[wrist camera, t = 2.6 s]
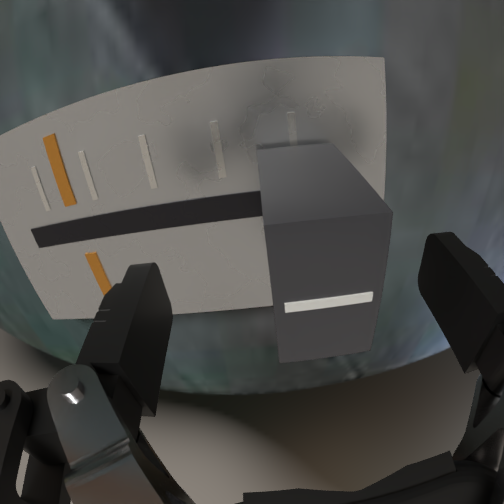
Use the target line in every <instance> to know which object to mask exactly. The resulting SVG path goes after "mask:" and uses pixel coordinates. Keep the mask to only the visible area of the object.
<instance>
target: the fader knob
mask: <svg viewBox="0 0 504 504" xmlns="http://www.w3.org/2000/svg"><path fill="white" fill-rule="evenodd" d="M256 151H257V161H258V171H259V181H260V192H261V202H262V213H263V224H264V232H265V241H266V249H267V257H268V266H269V274H270V283H271V291H272V300H273V309H274V318H275V327H276V336H277V345H278V354H279V363H287V362H296V361H305V360H312V359H320V358H327V357H334V356H340V355H347V354H353V353H359V352H365V351H370V350H371V346H372V341H373V337H374V332H375V327H376V323H377V318H378V312H379V307H380V302H381V296H382V291H383V285H384V279H385V272H386V266H387V259H388V251H389V244H390V235H391V227H392V217H393V212H392V210H391V209H390V208H389V207H388V205H387V204H386V203H385V202H384V201H383V199H382V198H381V197H380V196H379V195H378V193H377V192H376V191H375V190H374V189H373V188H372V186H371V185H370V184H369V183H368V182H367V181H366V179H365V178H364V177H363V176H362V175H361V174H360V173H359V171H358V170H357V169H356V168H355V167H354V166H353V165H352V164H351V162H350V161H349V160H348V159H347V158H346V157H345V156H344V155H343V154H342V153H341V152H340V151H339V149H338V148H337V147H336V146H335V145H334V144H333V143H326V144H312V145H300V146H289V147H279V148H269V149H260V150H256Z"/></svg>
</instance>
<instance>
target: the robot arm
mask: <svg viewBox="0 0 504 504" xmlns="http://www.w3.org/2000/svg"><path fill="white" fill-rule="evenodd" d="M418 286H419V291H420V293H421V295H422V297H423V299H424V300H425V302H426V304H427V305H428V307H429V309H430V310H431V312H432V314H433V316H434V317H435V319H436V321H437V323H438V324H439V326H440V328H441V330H442V331H443V333H444V335H445V337H446V339H447V341H448V342H449V344H450V346H451V348H452V350H453V352H454V354H455V355H456V358H457V359H458V362H459V364H460V365H461V367H462V369H463V371H464V373H468V372H471V371H474V370H477V369H479V370H480V373H481V374H480V376H479V377H478V379H477V383H476V388H475V393H474V397H473V402H472V407H471V411H470V415H469V419H468V423H467V427H466V431H465V434H464V436H463V438H462V440H461V442H460V444H459V445H458V447H457V448H456V450H455V452H454V454H453V456H451V453H450V451H448V452H445V453H442V454H440V455H437V456H434V457H432V458H429V459H426V460H423V461H420V462H417V463H414V464H410V465H407V466H405V467H403V468H402V469H400V470H398V471H396V472H395V473H393V474H391V475H389V476H387V477H386V478H384V479H382V480H380V481H378V482H376V483H374V484H372V485H371V486H368V487H366V488H364V489H362V490H359V491H354V492H344V491H323V490H310V489H299V488H298V489H290V490H281V491H268V492H252V493H243V502H240V503H236V504H504V283H503V282H502V281H501V280H500V279H499V277H498V276H495V273H494V271H493V270H492V269H491V268H490V267H489V268H488V264H487V263H486V262H485V261H484V260H483V259H482V258H481V256H480V255H479V254H477V253H476V252H474V251H473V250H471V249H470V248H468V247H466V246H465V245H464V244H463V243H462V242H461V240H460V239H459V238H458V237H457V236H456V235H455V234H454V233H452V232H443V233H434V234H430V235H429V236H428V237H427V239H426V243H425V248H424V252H423V257H422V262H421V266H420V270H419V274H418ZM98 310H99V311H98V312H97V313H96V315H95V317H94V323H92V324H91V327H90V329H89V332H88V334H87V336H86V339H85V341H84V344H83V346H82V349H81V351H80V354H79V356H78V359H77V362H76V364H75V365H71V366H68V367H66V368H64V369H62V370H60V371H59V372H58V373H57V374H56V375H55V376H54V377H53V379H52V380H51V382H50V384H49V386H48V388H43V389H39V390H34V391H30V392H24V391H23V390H22V389H21V388H20V386H19V385H18V384H17V383H15V382H14V381H11V380H5V381H2V382H0V504H70V502H71V501H72V502H73V504H195V503H194V501H193V500H192V499H191V498H190V497H189V496H188V494H187V493H186V492H185V491H184V490H183V489H182V488H181V487H180V486H179V485H178V484H177V482H176V481H175V480H174V478H173V477H172V476H171V474H170V473H169V472H168V470H167V469H166V467H165V466H164V464H163V463H162V461H161V460H160V459H159V457H158V456H157V454H156V453H155V451H154V450H153V448H152V447H151V445H150V443H149V442H148V440H147V439H146V437H145V435H144V434H143V432H142V431H141V429H140V428H139V426H140V420H141V416H152V417H155V415H156V409H157V403H158V397H159V391H160V385H161V379H162V374H163V368H164V363H165V357H166V352H167V347H168V341H169V336H170V331H171V326H172V318H173V316H172V306H171V302H170V299H169V297H168V294H167V291H166V288H165V285H164V282H163V279H162V276H161V273H160V270H159V267H158V265H157V264H156V263H155V262H152V263H143V264H133V265H130V266H129V267H128V269H127V271H126V274H125V276H124V278H123V280H122V283H116V284H115V285H114V286H113V287H112V288H111V289H110V290H109V291H108V292H107V293H106V294H105V295H104V297H103V299H102V302H101V304H100V306H99V308H98ZM23 450H24V451H25V452H27V453H28V454H30V455H29V459H28V464H27V469H26V474H25V479H24V484H23V490H22V495H21V497H19V495H18V493H17V491H16V479H17V474H18V469H19V465H20V460H21V456H22V452H23Z"/></svg>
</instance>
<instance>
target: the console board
mask: <svg viewBox="0 0 504 504" xmlns="http://www.w3.org/2000/svg"><path fill="white" fill-rule="evenodd" d="M326 143H333V144H334V145H335V146H336V147H337V148H338V149H339V151H340V152H341V153H342V154H343V155H344V156H345V157H346V158H347V159H348V160H349V161H350V162H351V164H352V165H353V166H354V167H355V168H356V169H357V170H358V171H359V173H360V174H361V175H362V176H363V177H364V178H365V179H366V181H367V182H368V183H369V184H370V185H371V186H372V188H373V189H374V190H375V191H376V192H377V193H378V195H379V196H380V197H381V198H382V199H383V201H384V189H385V169H386V84H385V65H384V58H382V57H358V56H320V57H296V58H281V59H269V60H259V61H250V62H242V63H234V64H227V65H220V66H214V67H208V68H202V69H197V70H192V71H187V72H182V73H177V74H172V75H168V76H164V77H159V78H155V79H151V80H147V81H143V82H140V83H136V84H132V85H129V86H125V87H122V88H118V89H115V90H112V91H109V92H105V93H102V94H99V95H96V96H93V97H90V98H87V99H84V100H82V101H79V102H76V103H73V104H71V105H68V106H65V107H63V108H60V109H58V110H55V111H53V112H50V113H48V114H46V115H43V116H41V117H38V118H36V119H34V120H32V121H29V122H27V123H25V124H23V125H21V126H19V127H17V128H14V129H12V130H10V131H8V132H6V133H4V134H2V135H0V221H1V223H2V225H3V227H4V230H5V232H6V234H7V236H8V238H9V241H10V243H11V245H12V247H13V249H14V251H15V253H16V255H17V257H18V259H19V261H20V263H21V265H22V267H23V269H24V270H25V272H26V274H27V276H28V278H29V280H30V281H31V283H32V285H33V287H34V289H35V290H36V292H37V294H38V296H39V297H40V299H41V301H42V302H43V304H44V306H45V307H46V309H47V310H48V312H49V314H50V315H51V317H52V318H53V319H85V318H94V317H95V315H96V313H97V312H98V311H99V310H98V308H99V306H100V304H101V302H102V299H103V297H104V295H105V294H106V293H107V292H108V291H109V290H110V289H111V288H112V287H113V286H114V285H115V284H116V283H122V280H123V278H124V276H125V274H126V271H127V269H128V267H129V266H130V265H133V264H143V263H152V262H155V263H156V264H157V265H158V267H159V270H160V273H161V276H162V279H163V282H164V285H165V288H166V291H167V294H168V297H169V299H170V302H171V306H172V314H184V313H197V312H210V311H222V310H233V309H244V308H254V307H264V306H273V300H272V291H271V283H270V274H269V266H268V257H267V249H266V241H265V232H264V224H263V213H262V202H261V192H260V181H259V171H258V161H257V151H256V150H260V149H269V148H279V147H289V146H300V145H312V144H326Z"/></svg>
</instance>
